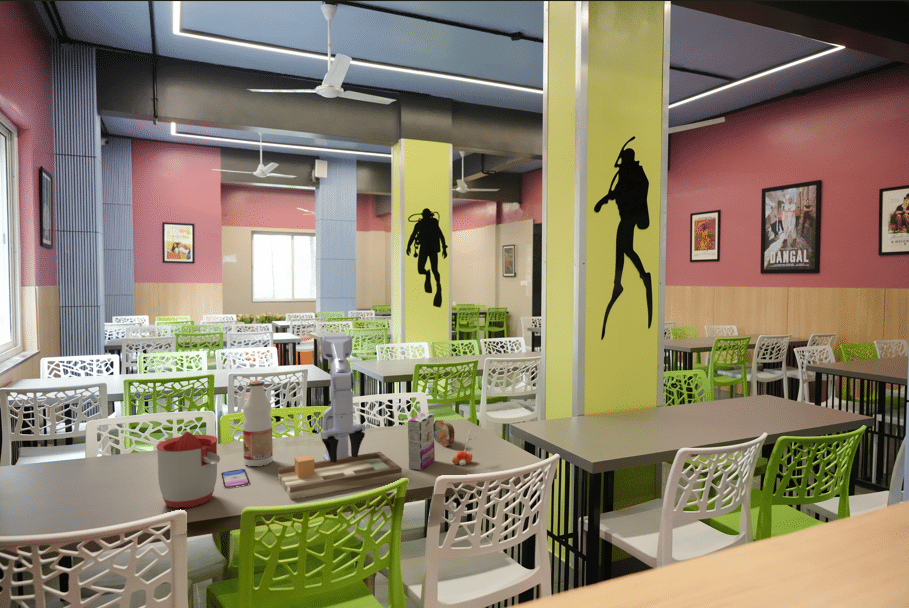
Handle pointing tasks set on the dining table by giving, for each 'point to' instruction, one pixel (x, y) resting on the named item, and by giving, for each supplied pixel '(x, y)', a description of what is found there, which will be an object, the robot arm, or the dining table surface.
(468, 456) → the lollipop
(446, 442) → the tin
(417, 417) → the candy bar box
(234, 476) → the smartphone
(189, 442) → the citrus juicer
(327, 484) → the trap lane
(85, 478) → the dining table surface
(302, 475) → the block
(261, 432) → the fruit juice
